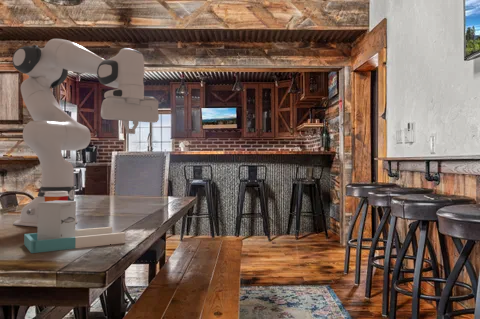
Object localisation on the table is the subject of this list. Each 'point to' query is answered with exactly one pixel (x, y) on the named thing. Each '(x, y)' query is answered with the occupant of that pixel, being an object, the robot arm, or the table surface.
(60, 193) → the paper cup
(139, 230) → the table surface
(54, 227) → the supplement box
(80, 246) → the push lane
